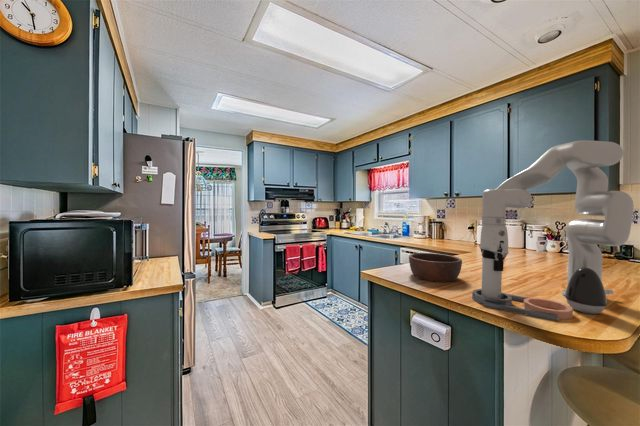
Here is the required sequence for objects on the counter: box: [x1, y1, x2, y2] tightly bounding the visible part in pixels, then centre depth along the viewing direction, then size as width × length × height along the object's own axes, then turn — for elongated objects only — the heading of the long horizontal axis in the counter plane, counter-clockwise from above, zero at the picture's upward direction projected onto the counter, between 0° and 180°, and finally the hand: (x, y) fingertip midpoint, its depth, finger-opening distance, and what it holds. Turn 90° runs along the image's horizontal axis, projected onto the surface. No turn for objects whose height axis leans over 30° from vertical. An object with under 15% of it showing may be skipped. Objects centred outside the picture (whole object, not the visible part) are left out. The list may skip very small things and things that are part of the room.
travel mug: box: [481, 250, 503, 299], centre depth 99 cm, size 6×7×20 cm
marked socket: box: [523, 297, 574, 320], centre depth 90 cm, size 12×12×2 cm
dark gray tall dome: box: [564, 268, 608, 315], centre depth 90 cm, size 10×10×15 cm
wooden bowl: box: [408, 252, 463, 283], centre depth 133 cm, size 25×25×10 cm
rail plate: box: [471, 288, 559, 322], centre depth 96 cm, size 24×17×2 cm
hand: (492, 268), depth 99 cm, fingers closed on travel mug, 6 cm apart
